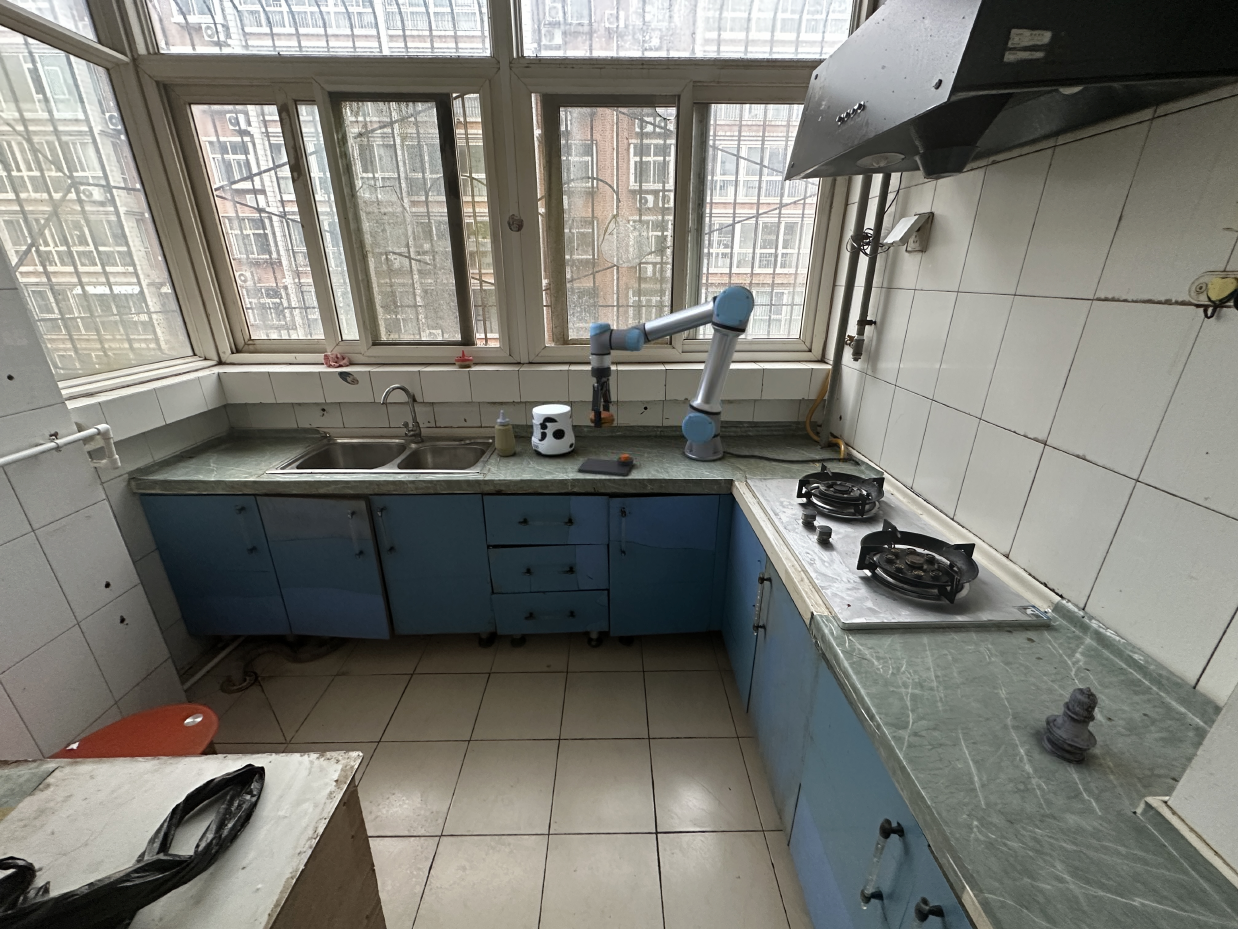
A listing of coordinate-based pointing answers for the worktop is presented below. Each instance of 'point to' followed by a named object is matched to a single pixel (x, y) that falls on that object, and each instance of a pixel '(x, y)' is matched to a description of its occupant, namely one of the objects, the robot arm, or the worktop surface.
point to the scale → (607, 466)
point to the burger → (604, 419)
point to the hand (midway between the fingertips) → (602, 423)
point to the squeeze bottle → (504, 436)
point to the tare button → (625, 457)
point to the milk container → (552, 430)
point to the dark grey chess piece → (1072, 727)
